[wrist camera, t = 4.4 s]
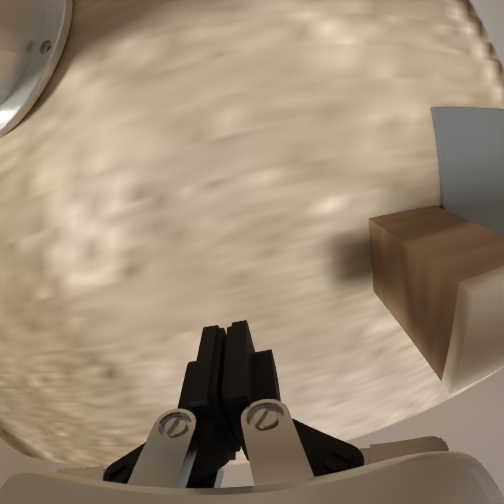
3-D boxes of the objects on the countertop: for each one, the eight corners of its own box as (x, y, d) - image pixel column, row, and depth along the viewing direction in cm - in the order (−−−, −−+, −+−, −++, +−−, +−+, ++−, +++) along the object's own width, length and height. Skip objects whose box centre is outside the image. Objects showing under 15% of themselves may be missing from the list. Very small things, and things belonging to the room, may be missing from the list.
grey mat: (430, 107, 14) (433, 107, 13) (537, 113, 13) (540, 113, 13) (434, 341, 19) (435, 343, 19) (530, 297, 18) (532, 299, 18)
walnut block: (368, 218, 16) (472, 293, 7) (434, 205, 15) (547, 260, 7) (373, 291, 17) (449, 394, 9) (434, 274, 17) (524, 353, 9)
